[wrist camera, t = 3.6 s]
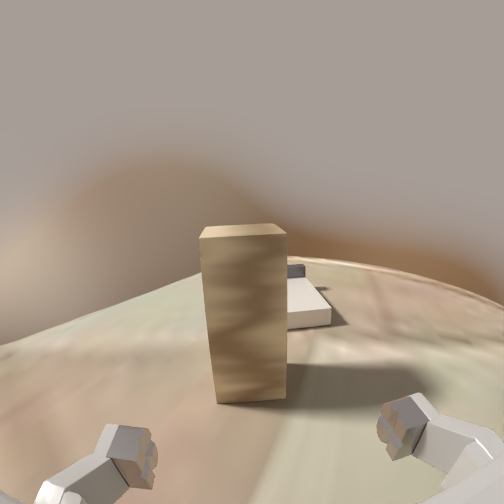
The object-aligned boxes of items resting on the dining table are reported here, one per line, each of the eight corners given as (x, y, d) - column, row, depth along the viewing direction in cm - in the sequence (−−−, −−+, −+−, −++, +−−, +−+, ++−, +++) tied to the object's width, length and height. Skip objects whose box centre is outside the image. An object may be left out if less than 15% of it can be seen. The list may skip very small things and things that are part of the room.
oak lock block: (217, 403, 19) (198, 238, 16) (218, 366, 24) (205, 226, 21) (285, 398, 19) (286, 233, 17) (275, 362, 24) (273, 223, 22)
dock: (210, 334, 30) (206, 304, 29) (214, 292, 42) (212, 269, 42) (330, 324, 30) (332, 294, 30) (302, 286, 43) (302, 264, 42)
